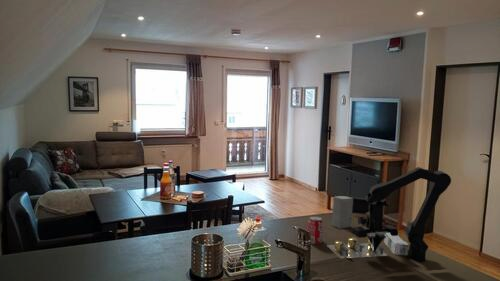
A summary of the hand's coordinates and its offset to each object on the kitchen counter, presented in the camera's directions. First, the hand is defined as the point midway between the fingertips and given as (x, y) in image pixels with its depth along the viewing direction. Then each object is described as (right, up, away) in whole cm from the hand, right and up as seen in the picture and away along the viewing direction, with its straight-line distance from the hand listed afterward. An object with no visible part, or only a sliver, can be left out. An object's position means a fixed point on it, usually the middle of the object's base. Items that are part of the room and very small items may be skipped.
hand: (373, 250), depth 157 cm
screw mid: (-7, 0, +4) cm, 8 cm away
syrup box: (+12, +1, +14) cm, 19 cm away
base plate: (-7, -2, +3) cm, 8 cm away
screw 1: (-14, -1, 0) cm, 14 cm away
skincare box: (-4, +1, +38) cm, 38 cm away
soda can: (-23, -1, +12) cm, 27 cm away
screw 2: (+2, -1, +3) cm, 4 cm away
